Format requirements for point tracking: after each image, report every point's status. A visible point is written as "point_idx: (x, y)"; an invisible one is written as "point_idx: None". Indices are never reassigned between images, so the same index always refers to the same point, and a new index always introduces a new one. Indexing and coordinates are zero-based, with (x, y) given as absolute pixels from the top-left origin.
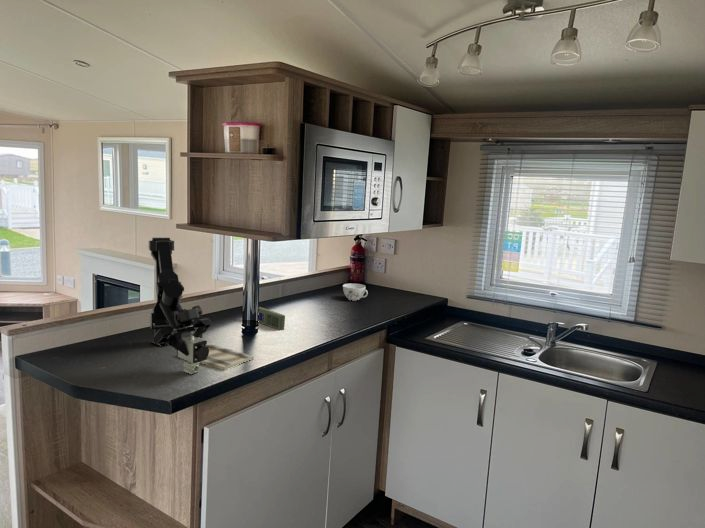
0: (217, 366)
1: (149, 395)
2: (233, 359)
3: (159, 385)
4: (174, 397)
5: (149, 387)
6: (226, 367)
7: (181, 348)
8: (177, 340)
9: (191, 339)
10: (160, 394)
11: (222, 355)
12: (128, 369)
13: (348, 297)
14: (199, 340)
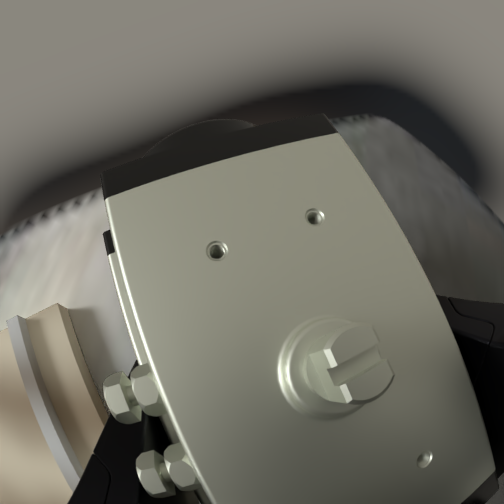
0: (80, 362)
1: (446, 179)
2: None
3: (428, 251)
4: (370, 125)
5: (457, 247)
6: (47, 310)
7: None
8: None
9: (349, 323)
10: (416, 167)
11: (15, 494)
12: (500, 479)
13: None
14: (204, 229)
